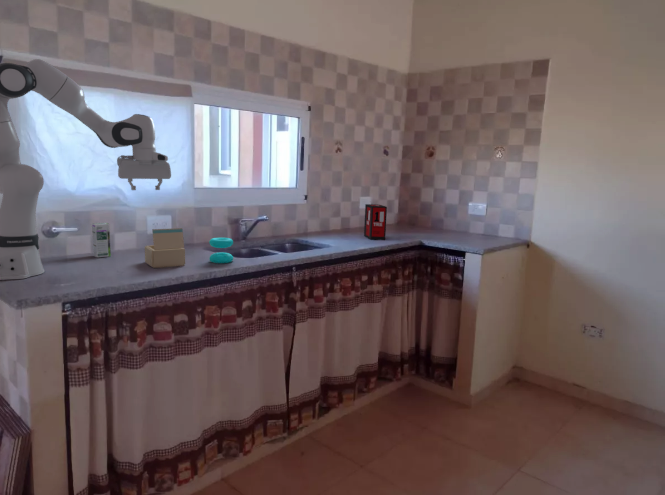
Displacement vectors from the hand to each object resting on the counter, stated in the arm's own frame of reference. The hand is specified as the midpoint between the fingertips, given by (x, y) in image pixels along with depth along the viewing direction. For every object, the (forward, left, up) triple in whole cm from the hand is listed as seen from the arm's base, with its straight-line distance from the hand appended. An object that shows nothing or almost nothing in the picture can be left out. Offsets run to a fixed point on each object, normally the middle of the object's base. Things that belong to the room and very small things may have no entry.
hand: (145, 190), depth 195 cm
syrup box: (-15, +18, -30) cm, 38 cm away
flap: (+5, -16, -22) cm, 28 cm away
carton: (+5, -9, -30) cm, 32 cm away
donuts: (+27, -14, -30) cm, 43 cm away
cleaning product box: (+137, +17, -30) cm, 141 cm away
